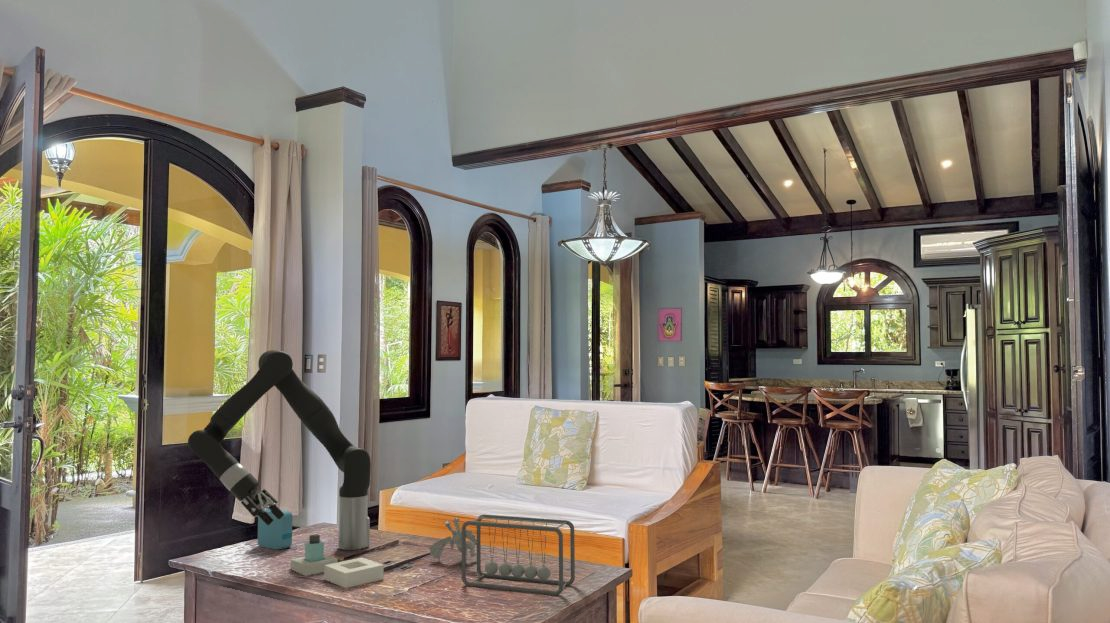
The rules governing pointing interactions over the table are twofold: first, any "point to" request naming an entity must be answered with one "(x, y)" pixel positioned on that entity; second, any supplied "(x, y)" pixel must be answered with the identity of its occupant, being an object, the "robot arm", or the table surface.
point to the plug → (314, 549)
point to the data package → (275, 531)
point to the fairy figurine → (454, 541)
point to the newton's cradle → (518, 568)
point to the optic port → (353, 572)
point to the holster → (311, 565)
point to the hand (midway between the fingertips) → (276, 519)
